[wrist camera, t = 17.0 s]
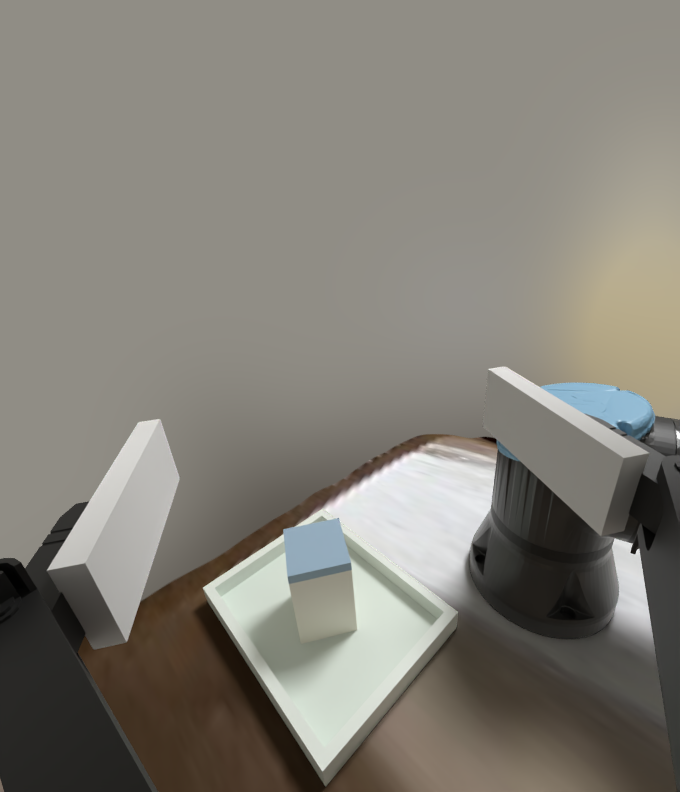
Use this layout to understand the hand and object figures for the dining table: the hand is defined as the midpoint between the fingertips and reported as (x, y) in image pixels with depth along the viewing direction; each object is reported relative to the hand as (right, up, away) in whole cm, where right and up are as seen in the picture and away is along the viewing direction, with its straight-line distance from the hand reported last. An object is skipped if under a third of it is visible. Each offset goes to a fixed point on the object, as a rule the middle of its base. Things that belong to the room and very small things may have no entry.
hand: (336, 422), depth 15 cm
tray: (-1, -23, +27) cm, 36 cm away
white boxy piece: (-1, -23, +27) cm, 35 cm away
